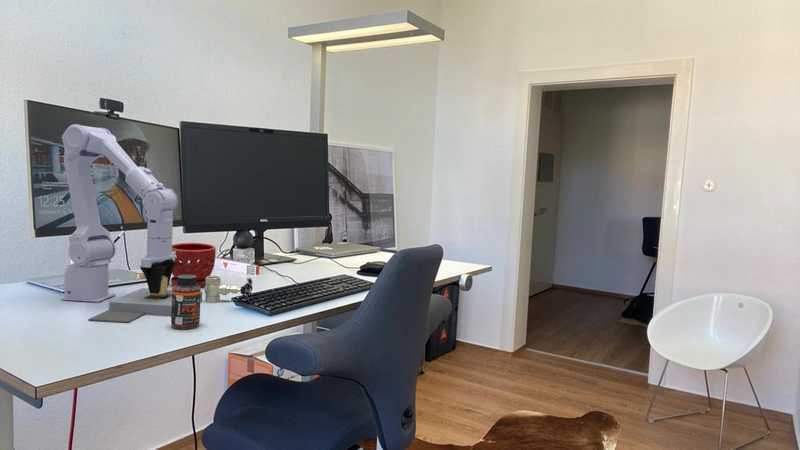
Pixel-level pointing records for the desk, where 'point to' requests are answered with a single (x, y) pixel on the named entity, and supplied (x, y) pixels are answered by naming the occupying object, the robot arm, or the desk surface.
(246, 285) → the valve
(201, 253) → the plant pot
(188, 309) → the supplement bottle
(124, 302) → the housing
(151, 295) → the brass cover
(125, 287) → the desk surface
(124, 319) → the rubber mat
